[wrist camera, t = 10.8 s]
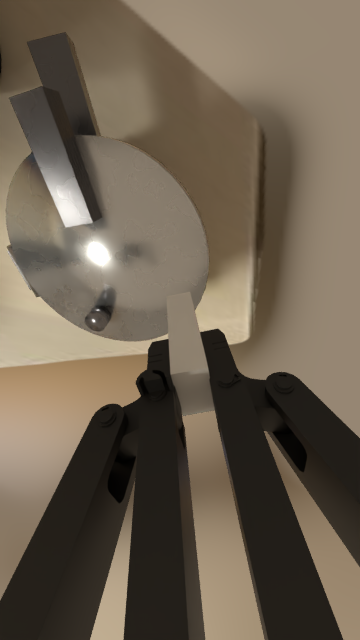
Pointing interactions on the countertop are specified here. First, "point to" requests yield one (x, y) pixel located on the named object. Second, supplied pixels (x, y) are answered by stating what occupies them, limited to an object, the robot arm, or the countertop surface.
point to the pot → (64, 84)
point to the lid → (101, 226)
